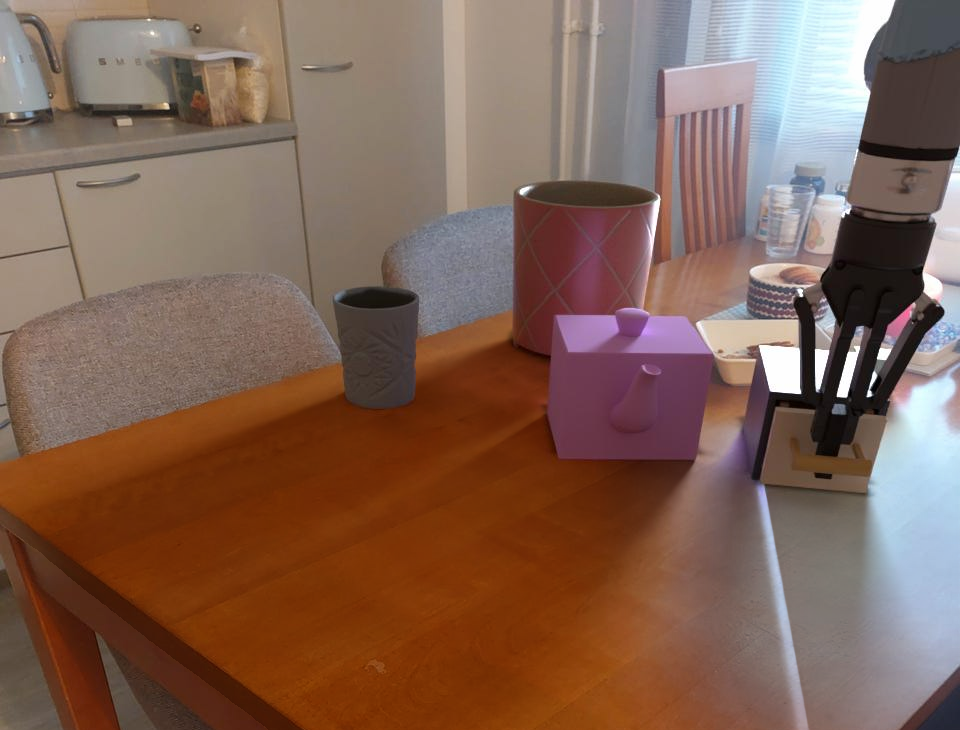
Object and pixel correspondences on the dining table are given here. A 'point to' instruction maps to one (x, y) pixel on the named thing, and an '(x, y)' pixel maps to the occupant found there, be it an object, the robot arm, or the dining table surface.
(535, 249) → the planter
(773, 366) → the cabinet
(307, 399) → the dining table surface
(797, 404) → the drawer
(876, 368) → the block
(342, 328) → the gray embossed cup
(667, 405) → the teapot
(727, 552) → the dining table surface
